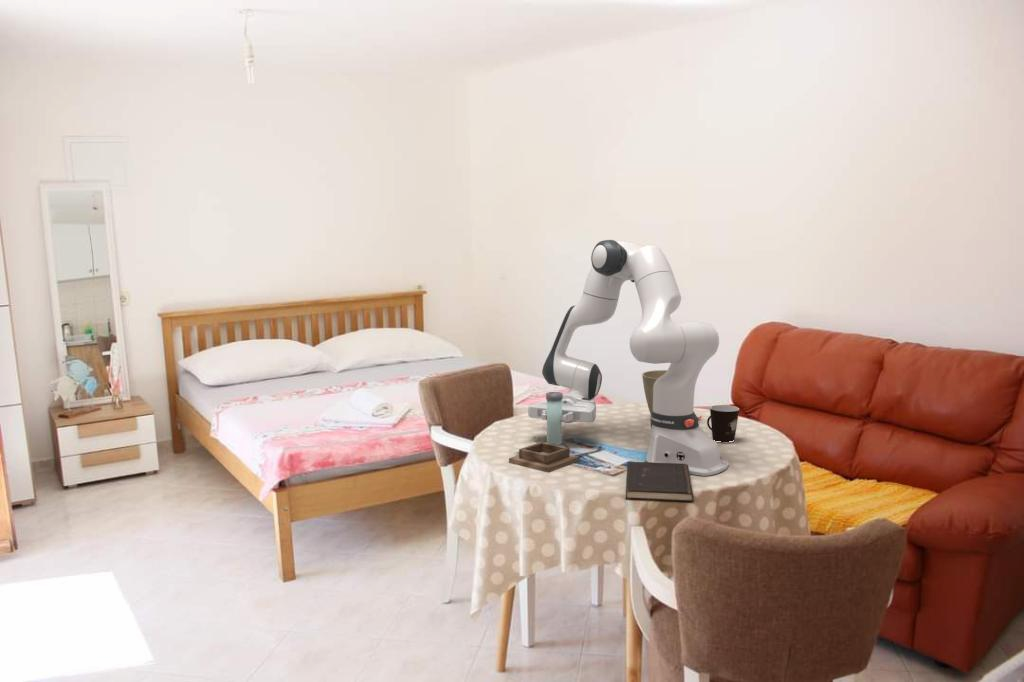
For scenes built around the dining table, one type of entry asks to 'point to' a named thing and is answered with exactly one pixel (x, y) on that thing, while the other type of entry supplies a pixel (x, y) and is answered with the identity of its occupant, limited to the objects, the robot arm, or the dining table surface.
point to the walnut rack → (544, 457)
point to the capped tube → (554, 417)
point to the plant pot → (651, 385)
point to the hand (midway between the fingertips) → (553, 417)
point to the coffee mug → (723, 422)
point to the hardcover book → (658, 482)
